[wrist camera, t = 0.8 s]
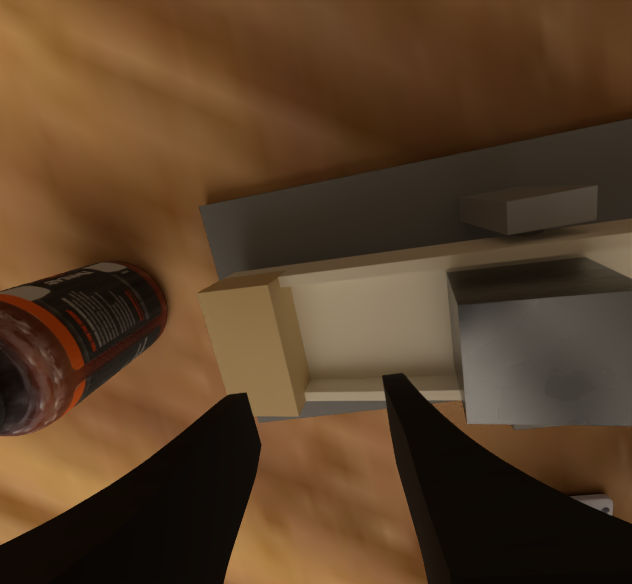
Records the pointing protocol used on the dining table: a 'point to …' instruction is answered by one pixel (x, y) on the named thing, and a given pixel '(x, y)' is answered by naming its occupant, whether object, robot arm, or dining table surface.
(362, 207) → the stand
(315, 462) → the dining table surface
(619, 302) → the rider
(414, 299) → the beam
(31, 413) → the supplement bottle
